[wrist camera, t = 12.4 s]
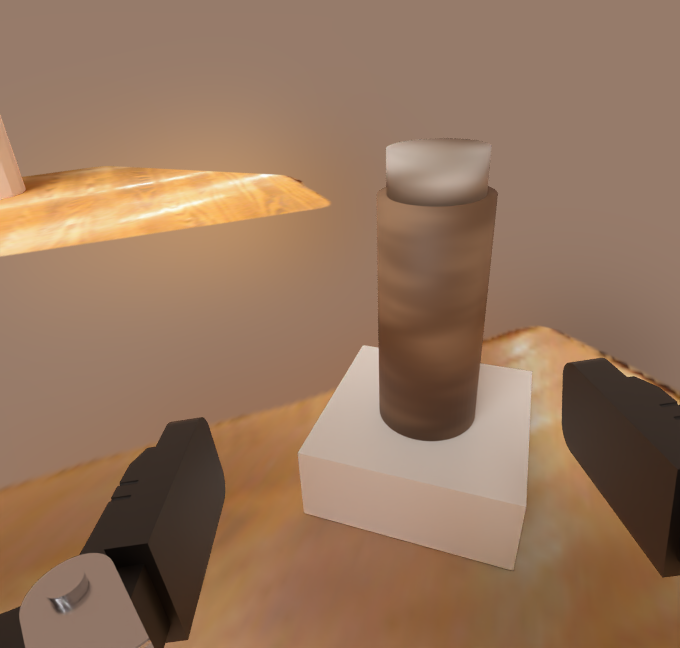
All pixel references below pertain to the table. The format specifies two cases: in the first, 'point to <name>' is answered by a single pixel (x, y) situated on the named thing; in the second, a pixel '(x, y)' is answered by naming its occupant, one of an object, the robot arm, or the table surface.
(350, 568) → the table surface
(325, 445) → the riser block
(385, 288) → the pepper mill
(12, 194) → the container
